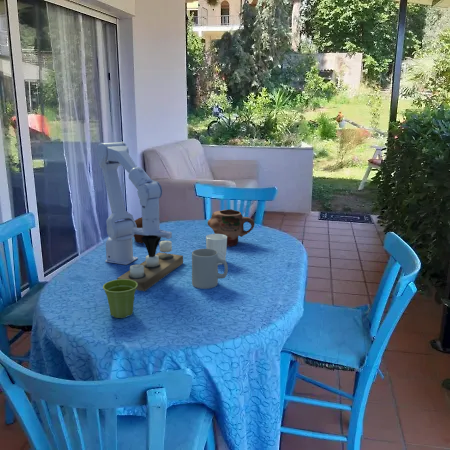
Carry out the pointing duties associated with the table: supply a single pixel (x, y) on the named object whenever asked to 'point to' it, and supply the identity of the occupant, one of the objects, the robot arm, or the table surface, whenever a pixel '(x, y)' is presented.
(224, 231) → the brown ceramic rounded pot
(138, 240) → the muffin
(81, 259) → the table surface
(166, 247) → the knob far
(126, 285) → the plant pot
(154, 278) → the knob strip
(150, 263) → the knob middle
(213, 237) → the white cup
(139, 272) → the knob near
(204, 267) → the mug
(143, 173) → the robot arm
